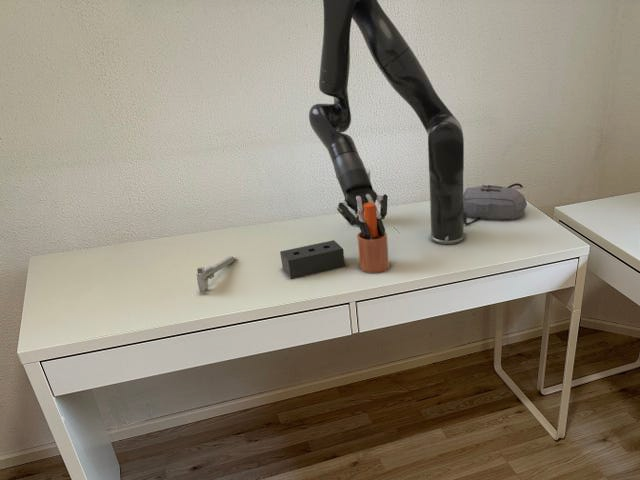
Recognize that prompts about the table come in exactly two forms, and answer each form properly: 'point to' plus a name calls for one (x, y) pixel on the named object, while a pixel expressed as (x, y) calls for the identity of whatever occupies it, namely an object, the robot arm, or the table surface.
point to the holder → (312, 259)
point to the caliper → (210, 273)
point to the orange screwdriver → (371, 219)
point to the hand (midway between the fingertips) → (375, 235)
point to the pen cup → (373, 253)
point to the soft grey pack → (493, 202)
